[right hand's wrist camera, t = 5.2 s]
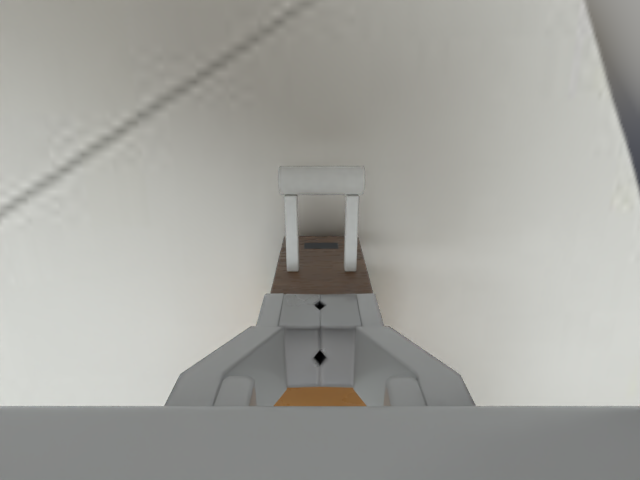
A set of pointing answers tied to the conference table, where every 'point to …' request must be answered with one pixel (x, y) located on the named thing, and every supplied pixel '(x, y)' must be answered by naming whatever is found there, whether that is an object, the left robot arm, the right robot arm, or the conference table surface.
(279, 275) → the drawer
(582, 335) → the conference table surface
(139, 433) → the right robot arm
